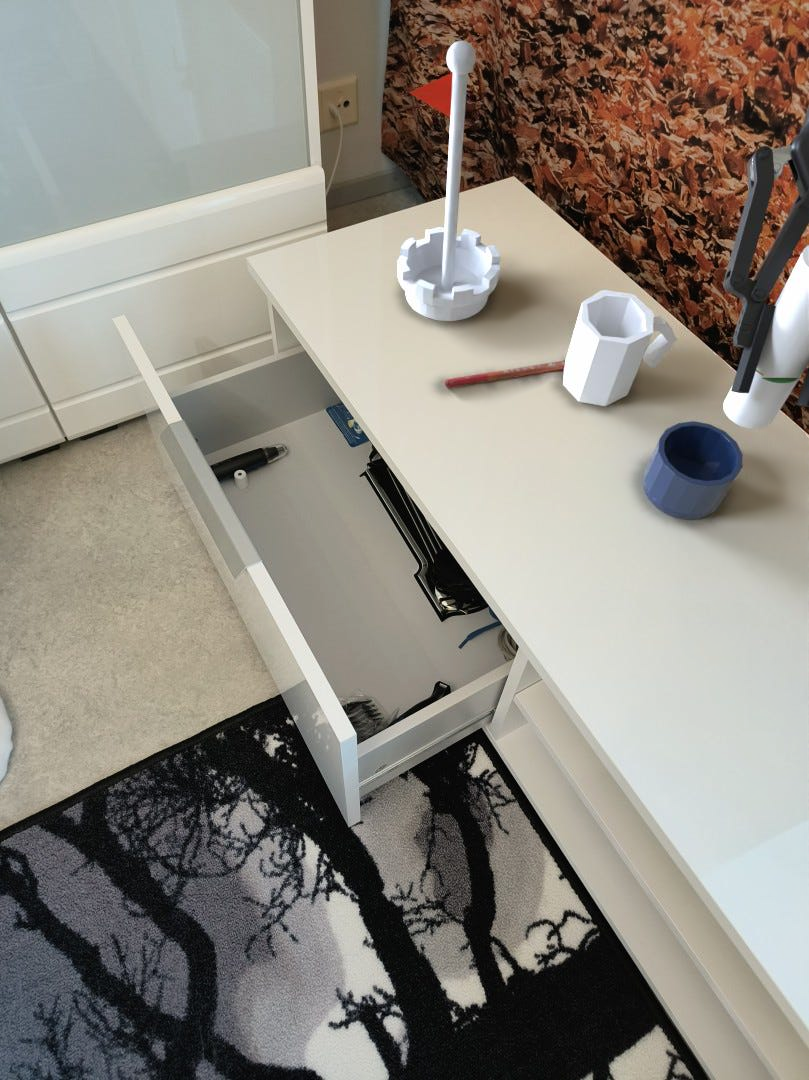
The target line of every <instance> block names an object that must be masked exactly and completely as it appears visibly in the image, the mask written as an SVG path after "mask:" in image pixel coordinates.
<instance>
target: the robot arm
mask: <svg viewBox="0 0 809 1080" xmlns="http://www.w3.org/2000/svg"><path fill="white" fill-rule="evenodd" d="M786 164H788V167H789V169H790V173H791V175H792V178H793V181H794V184H795V186H796V189H797V192H798V195H797V197H796V198H795V201H794V203H793V204H792V206H791V208H790V210H789V211H788V214H787V217H786V219H785V221H784V222H783V224H782V226H781V228H780V230H779V231H778V234H777V235H776V237H775V239H774V241H773V242H772V245H771V246H770V248H769V250H768V252H767V254H766V255H765V257H764V259H763V261H762V263H761V265H760V266H759V269H758V270H757V272H756V273H755V275H754V277H753V279H751V278H750V277H749V274H750V271H751V267H752V264H753V260H754V257H755V253H756V249H757V246H758V243H759V239H760V235H761V232H762V229H763V224H764V221H765V217H766V213H767V211H768V207H769V203H770V200H771V196H772V193H773V188H774V183H775V181H777V179H778V178H779V177H780V176H781V175H782V174H783V171H784V166H785V165H786ZM746 172H747V185H748V186H747V187H748V192H747V196H746V199H745V201H744V206H743V210H742V213H741V216H740V220H739V223H738V228H737V232H736V235H735V239H734V242H733V246H732V250H731V253H730V258H729V261H728V265H727V268H726V272H725V275H724V279H723V283H722V287H723V290H724V291H725V292H727V293H729V294H730V293H731V294H732V295H734V296H736V297H737V298H739V300H740V301H741V305H742V306H741V309H740V314H739V317H738V320H737V323H736V326H735V330H734V333H733V335H732V336H733V337H732V346H733V347H739V348H743V350H742V354H741V357H740V360H739V363H738V366H737V369H736V373H735V377H734V380H733V383H732V386H731V388H732V389H731V388H730V389H731V391H732V392H736V393H749V391H750V388H751V384H752V381H753V378H754V375H755V372H756V368H757V365H758V362H759V359H760V356H761V353H762V349H763V346H764V343H765V340H766V337H767V333H768V330H769V327H770V324H771V321H772V317H773V314H774V311H775V308H776V306H774V305H775V304H774V305H773V304H768V303H766V300H767V299H768V298H769V296H770V295H771V292H772V290H773V288H774V287H775V285H776V283H777V281H778V280H779V278H780V276H781V274H782V272H783V270H784V269H785V267H786V266H787V264H788V262H789V260H790V258H791V256H792V254H793V253H794V251H795V249H796V248H797V246H798V243H799V242H800V240H801V238H802V236H803V234H804V233H805V231H806V229H807V227H808V225H809V105H808V106H807V110H806V113H805V116H804V119H803V122H802V125H801V129H800V130H799V132H798V134H797V135H796V137H795V138H794V139H793V140H792V141H791V142H790V143H789V144H788V145H784V146H779V147H775V148H771V147H770V146H768V145H762V146H760V147H758V149H757V150H755V152H754V153H753V154H752V156H751V157H750V158H749V159H748V161H747V163H746ZM796 400H797V401H796V404H795V405H796V406H799V407H804V408H809V366H807V370H806V373H805V376H804V379H803V381H802V385H801V388H800V391H799V394H798V397H797V399H796Z"/></svg>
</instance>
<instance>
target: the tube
mask: <svg viewBox="0 0 809 1080" xmlns="http://www.w3.org/2000/svg"><path fill="white" fill-rule="evenodd" d="M774 306H776V308H775V311H774V314H773V317H772V321H771V324H770V327H769V330H768V333H767V337H766V340H765V343H764V346H763V349H762V353H761V356H760V359H759V362H758V365H757V368H756V372H755V375H754V378H753V381H752V384H751V388H750V391H749V393H736V392H732V391H731V389H732V387H731V388H730V389H729V391H728V394H727V395H726V397H725V399H724V401H723V406H722V407H723V412H724V413H725V415H726V416H727V418H728V419H729V420H730V421H731V422H733V423H734V424H735V425H737V426H740V427H741V428H745V429H750V430H751V429H752V430H761V429H764V428H767V427H768V426H770V425H771V424H773V422H774V421H775V419H776V417H777V415H778V414H779V412H780V411H781V409H782V407H783V406H784V404H785V403H786V401H787V399H788V398H789V396H790V395H791V393H792V391H793V390H794V388H795V387H796V385H797V383H798V382H799V380H800V378H801V377H802V375H803V373H804V372H805V371H806V369H807V368H808V367H809V244H807V245H806V246H805V247H804V248H803V250H802V252H801V253H800V256H799V258H798V260H797V261H796V263H795V265H794V267H793V269H792V271H791V272H790V275H789V277H788V279H787V281H786V283H785V284H784V286H783V288H782V291H781V292H780V294H779V296H778V298H777V300H776V301H775V303H774Z"/></svg>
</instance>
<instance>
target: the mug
mask: <svg viewBox="0 0 809 1080" xmlns="http://www.w3.org/2000/svg"><path fill="white" fill-rule="evenodd" d="M654 315H655V313H654V311H653V310H651V309H650V308H649V307H648V306H647V305H646V304H645V303H644V302H643V301H642V300H640V298H638V297H637V296H636V295H635V294H634V293H627V292H621V291H614V290H609V289H608V290H607V289H601V290H600V291H598V292H597V293H595V294H592V296H590V297H588V298H585V300H583V301H582V302H581V305H580V308H579V312H578V315H577V318H576V322H575V326H574V330H573V333H572V336H571V340H570V344H569V347H568V351H567V353H566V356H565V360H566V361H565V360H564V361H565V367H564V369H563V375H562V376H563V378H562V385H563V387H564V388H565V389H566V390H567V391H568V392H569V393H570V394H571V396H572V397H574V398H575V399H576V401H577V402H579V403H583V404H590V405H595V406H601V407H607V406H609V405H611V404H613V403H615V402H617V401H619V400H621V399H623V398H624V397H627V396H628V395H629V392H630V390H631V388H632V386H633V384H634V381H635V378H636V376H637V373H638V371H639V368H640V365H641V363H642V360H643V362H644V364H645V365H646V366H647V367H650V368H653V369H655V368H656V367H657V366H658V365H659V363H660V362H661V361H662V360H663V358H664V357H665V356H666V354H667V353H668V351H670V349H671V348H672V347H673V345H674V344H675V343H676V341H677V340H678V338H677V337H676V336H675V333H674V331H673V328H672V326H670V324H669V322H668V321H667V320H666V319H665V318H664V317H663V315H656V316H654ZM654 332H659V334H658V335H657V337H656V338H655V339H654V340H653V341H652V342H651V343H650V341H651V338H652V336H653V333H654ZM649 343H650V345H649Z"/></svg>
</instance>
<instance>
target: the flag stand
mask: <svg viewBox="0 0 809 1080" xmlns="http://www.w3.org/2000/svg"><path fill="white" fill-rule="evenodd" d="M476 55H477V54H476V51H475V48H474V46H473V45H472V44H471V43H470V42H468V41H466V40H457V41H454V42H453V43H452V44H451V46H450V47H449V48H448V50H447V53H446V65H447V67H448V69H449V71H450V73H448V74H446V75H444V76H442V77H440V78H437V79H435V80H433V81H431V82H429V83H426V84H424V85H422V86H419V87H418V88H415V89H413V90H411V91H409V92H408V93H409V94H410V95H412V96H414V97H415V98H417V99H419V100H421V101H422V102H424V103H425V104H427V105H429V106H430V107H432V108H434V109H435V110H437V111H438V112H440V113H442V114H443V115H445V116H447V117H448V118H449V119H450V122H449V134H448V135H449V139H448V156H447V157H448V158H447V173H446V192H445V193H446V194H445V212H444V226H440V227H439V226H438V227H433V228H428V229H427V228H426V229H425V237H424V238H421V239H418V240H417V239H415V238H413V237H411V236H410V237H408V238H407V239H406V240H405V241H404V242H403V244H402V245H401V246H400V250H399V251H400V255H399V258H398V259H397V261H396V263H397V279H398V282H399V284H400V286H401V289H403V290H404V291H405V293H404V294H405V298H406V301H407V303H408V304H409V306H410V307H411V308H412V310H414V311H415V312H417V313H418V314H419V315H420V316H423V317H425V318H427V319H432V320H436V321H439V322H454V321H455V322H456V321H463V320H465V319H468V318H470V317H473V316H475V315H476V314H478V313H480V312H481V311H482V310H483V308H485V307H486V305H487V303H488V300H489V296H490V294H491V293H493V292H494V291H495V288H496V287H497V286H498V283H499V278H500V271H501V269H500V261H501V254H500V251H499V249H498V248H497V247H496V245H495V244H491V245H488V246H487V245H485V244H484V243H483V242H482V241H481V240H482V234H480V233H478V232H477V231H474V230H470V229H467V228H463V229H462V231H461V234H460V235H457V234H458V233H457V232H458V219H459V218H458V217H459V204H460V191H461V190H460V189H461V176H462V164H463V163H462V162H463V146H464V133H465V132H464V131H465V119H466V117H465V116H466V102H467V91H468V90H467V86H468V75H469V73H470V72H471V71H472V70H473V68H474V67H475V64H476V58H477V56H476Z"/></svg>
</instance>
